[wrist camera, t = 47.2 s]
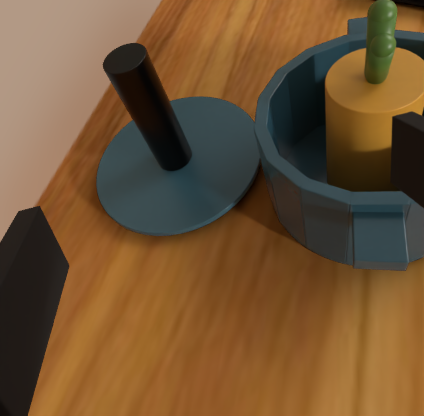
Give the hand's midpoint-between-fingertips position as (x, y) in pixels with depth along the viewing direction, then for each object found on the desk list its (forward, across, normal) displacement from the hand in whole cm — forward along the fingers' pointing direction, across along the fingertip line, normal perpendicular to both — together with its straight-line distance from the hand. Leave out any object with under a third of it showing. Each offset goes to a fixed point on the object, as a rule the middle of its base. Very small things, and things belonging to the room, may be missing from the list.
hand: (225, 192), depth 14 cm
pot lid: (+19, -2, -6) cm, 20 cm away
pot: (+11, +11, -8) cm, 18 cm away
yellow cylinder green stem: (+11, +11, -8) cm, 17 cm away
